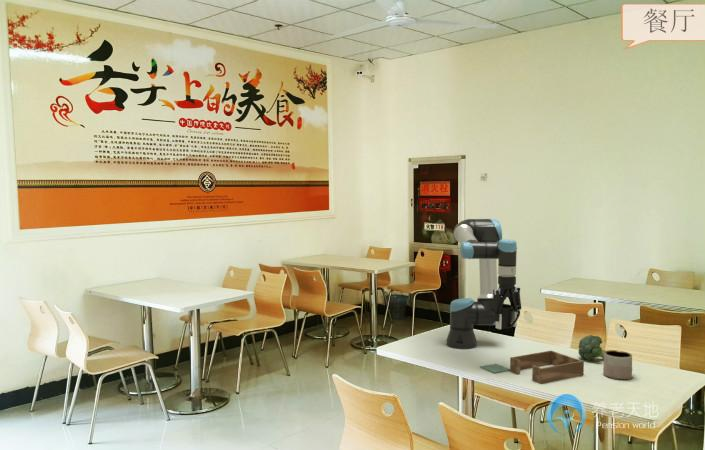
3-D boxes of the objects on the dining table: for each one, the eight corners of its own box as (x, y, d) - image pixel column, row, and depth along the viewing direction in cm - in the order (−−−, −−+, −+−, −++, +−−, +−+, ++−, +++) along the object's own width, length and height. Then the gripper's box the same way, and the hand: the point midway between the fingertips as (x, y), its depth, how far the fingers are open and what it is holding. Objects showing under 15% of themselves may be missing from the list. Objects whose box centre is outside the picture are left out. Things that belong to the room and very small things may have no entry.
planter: (597, 373, 234) (597, 351, 234) (616, 370, 238) (616, 349, 238) (618, 381, 224) (619, 358, 224) (637, 378, 228) (638, 355, 228)
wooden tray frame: (510, 371, 238) (510, 357, 237) (550, 363, 248) (551, 350, 248) (541, 383, 222) (541, 369, 221) (583, 375, 232) (583, 361, 232)
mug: (513, 332, 232) (513, 310, 231) (489, 326, 241) (489, 305, 240) (524, 329, 237) (524, 307, 236) (500, 323, 246) (500, 302, 246)
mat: (480, 367, 243) (480, 366, 242) (496, 364, 246) (496, 363, 246) (493, 373, 234) (493, 372, 234) (510, 370, 238) (510, 369, 238)
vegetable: (617, 361, 245) (587, 346, 245) (600, 374, 254) (570, 359, 254) (617, 340, 254) (587, 325, 254) (600, 353, 263) (571, 339, 263)
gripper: (494, 278, 229) (493, 332, 231) (531, 274, 239) (530, 326, 241) (482, 276, 236) (481, 328, 237) (518, 272, 246) (517, 322, 247)
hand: (506, 327), depth 239 cm, fingers closed on mug, 8 cm apart
